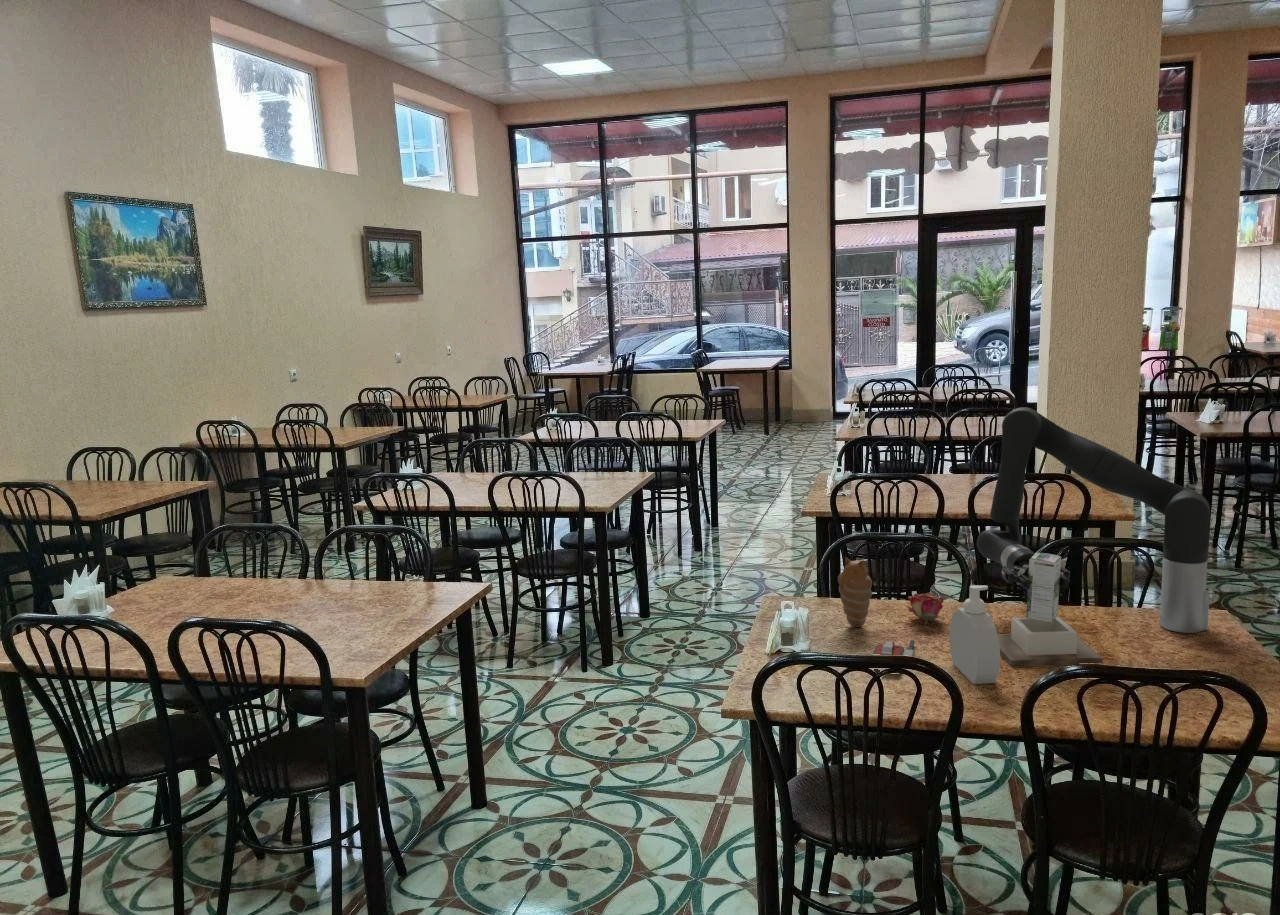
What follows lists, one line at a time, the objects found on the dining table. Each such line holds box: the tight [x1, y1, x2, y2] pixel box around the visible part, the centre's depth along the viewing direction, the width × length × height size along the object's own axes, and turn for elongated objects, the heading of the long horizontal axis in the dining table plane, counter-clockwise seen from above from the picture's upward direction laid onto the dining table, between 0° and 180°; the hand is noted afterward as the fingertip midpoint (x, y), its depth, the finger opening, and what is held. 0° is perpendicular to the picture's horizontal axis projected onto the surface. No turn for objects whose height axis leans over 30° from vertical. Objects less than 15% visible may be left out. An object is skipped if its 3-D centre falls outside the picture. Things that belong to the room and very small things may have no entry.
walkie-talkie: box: [872, 639, 915, 676], centre depth 216 cm, size 9×4×20 cm
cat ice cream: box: [837, 557, 873, 628], centre depth 237 cm, size 9×8×18 cm
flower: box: [906, 591, 946, 626], centre depth 239 cm, size 10×9×8 cm
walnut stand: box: [997, 633, 1103, 668], centre depth 216 cm, size 20×16×2 cm
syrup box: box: [1025, 552, 1062, 622], centre depth 214 cm, size 6×6×14 cm
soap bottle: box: [948, 584, 1001, 685], centre depth 205 cm, size 16×5×20 cm, turn 3°
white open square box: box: [1010, 615, 1078, 655], centre depth 216 cm, size 11×11×5 cm
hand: (1047, 584), depth 212 cm, fingers closed on syrup box, 8 cm apart
